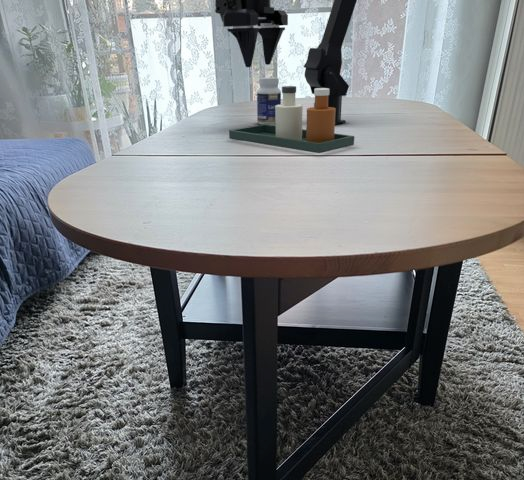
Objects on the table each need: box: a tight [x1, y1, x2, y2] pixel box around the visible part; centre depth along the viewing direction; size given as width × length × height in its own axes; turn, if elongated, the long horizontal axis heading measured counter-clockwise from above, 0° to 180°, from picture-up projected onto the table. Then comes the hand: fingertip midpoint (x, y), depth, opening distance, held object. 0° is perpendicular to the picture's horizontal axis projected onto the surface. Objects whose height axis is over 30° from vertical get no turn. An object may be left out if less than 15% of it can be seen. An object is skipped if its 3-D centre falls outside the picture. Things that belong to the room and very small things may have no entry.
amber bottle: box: [305, 88, 336, 143], centre depth 93 cm, size 5×5×10 cm
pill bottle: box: [256, 77, 282, 125], centre depth 122 cm, size 6×6×10 cm
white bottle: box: [275, 85, 304, 140], centre depth 98 cm, size 5×5×10 cm
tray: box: [228, 124, 355, 154], centre depth 100 cm, size 10×24×2 cm, turn 44°
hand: (258, 65), depth 110 cm, fingers open, 9 cm apart
